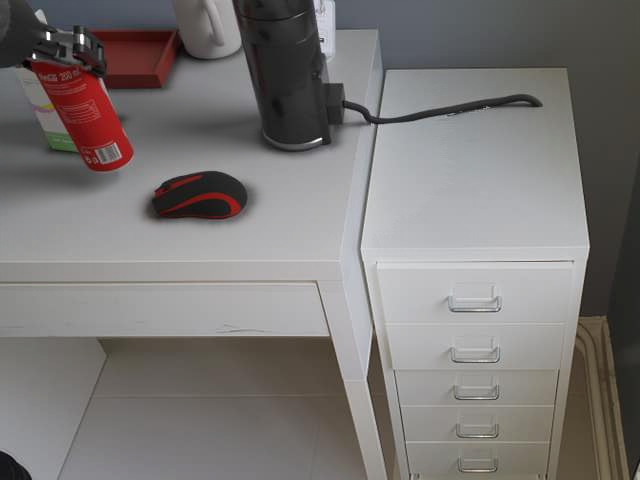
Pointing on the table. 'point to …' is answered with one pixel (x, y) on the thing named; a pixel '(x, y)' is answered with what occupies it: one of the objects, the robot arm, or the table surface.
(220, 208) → the computer mouse
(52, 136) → the ink box
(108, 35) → the drinks tray
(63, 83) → the beverage can
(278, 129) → the robot arm
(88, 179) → the table surface
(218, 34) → the mug
